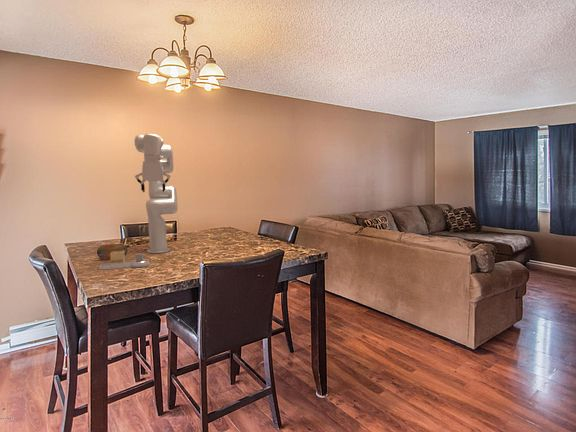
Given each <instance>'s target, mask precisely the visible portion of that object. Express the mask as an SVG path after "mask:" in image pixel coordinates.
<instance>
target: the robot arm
mask: <svg viewBox="0 0 576 432" xmlns="http://www.w3.org/2000/svg"><path fill="white" fill-rule="evenodd" d="M133 143H134V146H135V149H136V151H138V152H139V153H142V154H143V161H142V169H141V170H142V171H141V172H140V173H138V174H136V175H134V178H135V179H136V181H137V182H138V183H139V184H140V187H141V188H140V189H141V191H142V193H145V191H146V190H145V189H146V188H145V183H146V181H147V182H148V196H149V199H147V200H146V203H145V208H146V214H147V220H148V237H149V238H148V239H149V240H148V241H149V248H148V249H146V252H147V253H148V254H164V253H168V252H170V250H171V249H170V247H168V246H167V225H166V224H167V223H166V219H164V217H162V216H161V215H175V214H176V213H177V212H178V195H177V194H178V193H177V188H176V187H175V185H173V184H167V183H168V182H169V181H170V178H171V175H170V173H173V171H174V153H173V149H172V146H171V145H170V144H164V140H163V138H162V136H160V135H158V134H153V133H146V134H138V135H136V136H135V137H134V142H133ZM141 176H142V180H141V179H140V178H139V177H141ZM164 177H166V179H164Z"/></svg>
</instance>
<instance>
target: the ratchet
mask: <svg viewBox="0 0 576 432" xmlns="http://www.w3.org/2000/svg"><path fill="white" fill-rule="evenodd" d="M149 266H150V259H148V258H144V254H143V252H141V253H136V254H135V259H133V260H130V261H125V262H119V263H111V262H110V263H109V262H108V263H100V264H99V267H98V268H99V271H102V270H115V269H125V268H131V269H140V268H147V267H149Z"/></svg>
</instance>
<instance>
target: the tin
mask: <svg viewBox="0 0 576 432" xmlns="http://www.w3.org/2000/svg"><path fill="white" fill-rule="evenodd" d="M112 251H125V257H126V256H127V254H128V248H127V246H126V245H125V244H123V243H111V244H109V243H108V244H102V245H100V246H99V247H98V248H97V249H96V255H97V257H98V258H99V259H101V260H102V261H111V259H110V253H111V252H112Z"/></svg>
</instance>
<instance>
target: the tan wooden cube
mask: <svg viewBox="0 0 576 432" xmlns="http://www.w3.org/2000/svg"><path fill="white" fill-rule="evenodd" d="M110 259H111V260H110V263H119V262H126V256H125V251H112V252H111V253H110Z"/></svg>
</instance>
